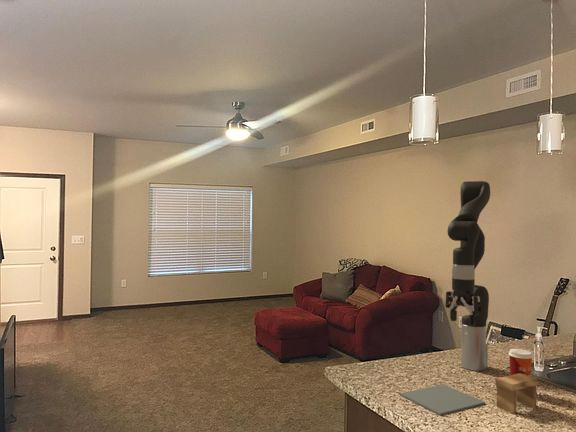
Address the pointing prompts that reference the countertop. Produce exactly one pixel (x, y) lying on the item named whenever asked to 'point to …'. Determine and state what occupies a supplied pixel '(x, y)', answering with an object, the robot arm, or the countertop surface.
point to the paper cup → (520, 361)
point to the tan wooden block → (516, 391)
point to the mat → (442, 399)
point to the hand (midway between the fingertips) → (462, 323)
